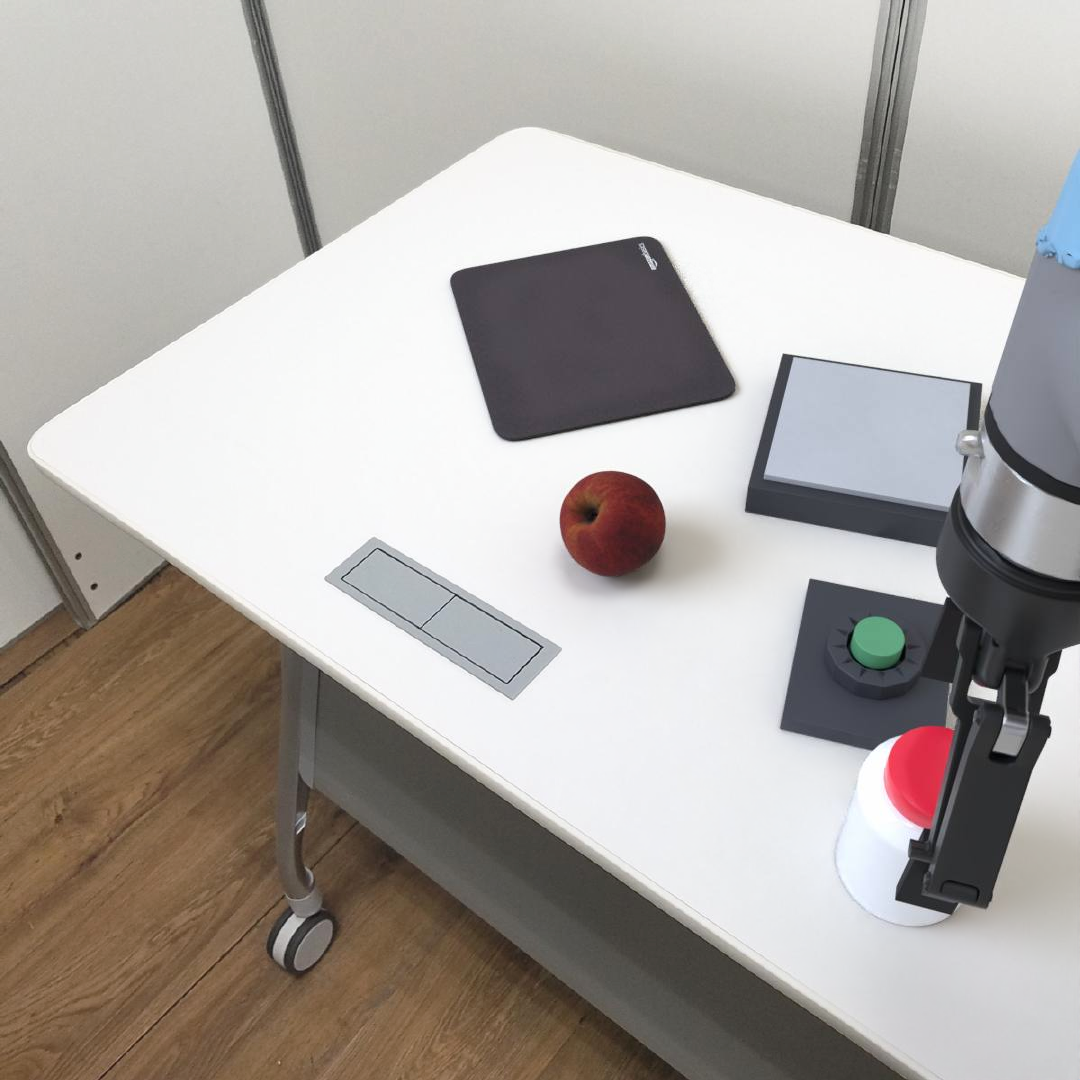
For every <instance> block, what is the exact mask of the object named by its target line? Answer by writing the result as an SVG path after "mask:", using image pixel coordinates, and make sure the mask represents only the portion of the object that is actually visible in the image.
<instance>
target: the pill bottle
mask: <svg viewBox="0 0 1080 1080" xmlns="http://www.w3.org/2000/svg"><path fill="white" fill-rule="evenodd" d="M953 733H954V729H953V728H950V727H946V728H945V727H941V726H925V727H919V728H916V729H913V730H910V731H908V732H907V733H905V734H903V735H900V736H897V737H893V738H890V739H888V740H887V741H885V742H883V743H881V744H880V745H878V746H877V747H876V748H875V749H874V750H871V752H870V753H868V755H867V757H866V758H865V759H864V761H863V763H862V765H861V767H860V770H859V773H858V776H857V779H856V782H855V784H854V787H853V791H852V793H851V796H850V800H849V803H848V805H847V809H846V811H845V815H844V817H843V820H842V823H841V827H840V830H839V832H838V836H837V839H836V841H835V851H834V855H835V856H834V857H835V865H836V869H837V872H838V875H839V878H840V880H841V881H842V883H843V885H844V888H845V889H846V890H847V892H848V893H849V894H850V895H851V897H852V898H853V900H854V901H855V902H857V903H858V904H859V905H860V906H861V907H862V908H863V909H864V910H866V911H868V912H869V913H871V914H872V915H874V916H875V917H877V918H879V919H881V920H884V921H886V922H889V923H891V924H896V925H900V926H903V927H924V926H931V925H934V924H936V923H939V922H943V921H944V920H946V919H947V918H949V917H950V916H951V915H949V914H945V913H941V912H937V911H934V910H930V909H926V908H922V907H919V906H915V905H911V904H907V903H903V902H900V901H896V900H895V894H896V886H897V884H898V882H899V880H900V878H901V875H902V873H903V871H904V869H905V867H906V865H907V863H908V861H909V859H910V858H908V847H909V841H910V839H914V840H919V837H920V835H921V833H922V831H923V829H924V828H927V829H931V826H932V822H933V817H934V813H935V809H936V805H937V801H938V796H939V792H940V788H941V784H942V780H943V775H944V771H945V767H946V763H947V759H948V754H949V750H950V746H951V742H952V738H953ZM962 905H963V904H962V903H959V904H958V906H957V907H956V909H955V911H954V912H953V914H954V913H955V912H956V911H957V910H958V909H959V908H960V907H961V906H962Z"/></svg>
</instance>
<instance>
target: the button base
mask: <svg viewBox="0 0 1080 1080" xmlns="http://www.w3.org/2000/svg"><path fill="white" fill-rule="evenodd" d="M943 605H944V604H941V603H937V602H931V601H927V600H922V599H916V598H911V597H906V596H902V595H896V594H891V593H886V592H880V591H876V590H870V589H867V588H861V587H856V586H851V585H845V584H840V583H836V582H831V581H826V580H822V579H821V580H820V579H815V578H809V579H808V584H807V588H806V593H805V598H804V603H803V609H802V614H801V619H800V624H799V629H798V634H797V639H796V644H795V647H794V648H795V649H794V652H793V653H794V654H793V658H792V662H791V663H792V664H791V669H790V673H789V679H788V684H787V689H786V694H785V699H784V700H785V701H784V705H783V709H782V715H781V719H780V725H779V729H780V730H782V731H788V732H793V733H796V734H800V735H805V736H809V737H813V738H816V739H817V738H818V739H823V740H826V741H831V742H834V743H839V744H844V745H848V746H852V747H856V748H861V749H866V750H870V751H873V750H874V749H875V748H876V747H877V746H878V745H880V744H881V743H883V742H885V741H887V740H888V739H890V738H893V737H897V736H900V735H903V734H905V733H907V732H908V731H910V730H913V729H916V728H919V727H925V726H941V727H945V728H947V727H946V726H947V717H948V715H947V714H948V703H949V695H950V683H948V682H943V681H939V680H934V679H930V678H925V677H920V667H921V663H922V661H923V658H924V655H925V653H926V650H927V647H928V645H929V642H930V639H931V637H932V634H933V631H934V629H935V626H936V623H937V621H938V618H939V615H940V613H941V610H942V607H943ZM868 617H883V618H887V619H889V620H891V621H893V622H894V623H896V624H897V625H898V626H899V627H900V628H901V630H902V631H903V634H904V637H905V643H904V646H903V649H902V652H901V655H900V658H899V660H898V661H897V663H896V664H894V665H893V666H891V667H889V668H886V669H872V668H869V667H866V666H864V665H862V664H861V663H860V662H858V661H857V660H856V659H855V657H854V656H853V654H852V652H851V640H852V637H853V633H854V629H855V627H856V625H857V624H858V623H859V622H860V621H861V620H863V619H865V618H868Z"/></svg>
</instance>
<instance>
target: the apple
mask: <svg viewBox="0 0 1080 1080" xmlns="http://www.w3.org/2000/svg"><path fill="white" fill-rule="evenodd" d="M666 518H667V517H666V512H665V509H664V506H663V503H662V501H661V498H660V497H659V495H658V493H657V492H656V490H655V488H653V487H652V486H651V484H649V483H648V482H647V481H645V480H644V479H642V478H641V477H638V476H636V475H634V474H631V473H627V472H624V471H620V470H619V471H618V470H602V471H596V472H594V473H593V472H592V473H590V474H588V475H586V476H584V477H583V478H581V479H580V480H578V481H576V483H575V484H574V485H573V487H572V488H571V489H570V490H569V491H568V493H567V494H566V495H565V497H564V499H563V501H562V503H561V506H560V511H559V529H560V535H561V539H562V541H563V542H562V543H563V545H564V546H565V549H566V550H567V552H568V553H569V555H570V556H571V558H572V559H573V561H575V563H577V564H578V565H579V566H580V567H582V568H583V569H585V570H587V571H588V572H590V573H592V574H595V575H598V576H603V577H618V576H624V575H627V574H630V573H633V572H635V571H637V570H639V569H641V568H642V567H644V566H646V565H647V564H649V562H650V561H651V560H652V559H654V557H655V556H656V555H657V554H658V552H659V550H660V548H661V547H662V545H663V542H664V540H665V536H666V529H667V527H666V526H667V522H666V520H667V519H666Z"/></svg>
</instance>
